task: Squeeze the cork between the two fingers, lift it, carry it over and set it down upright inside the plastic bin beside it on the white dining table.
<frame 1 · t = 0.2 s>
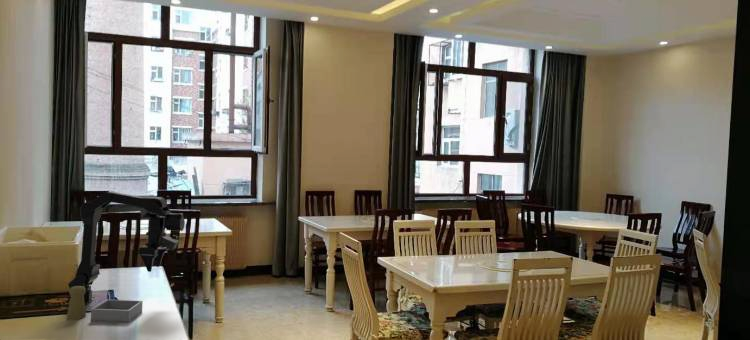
hand: (153, 269, 215), 14 cm above the table, fingers open, 9 cm apart
bin: (117, 316, 200), on the table
cork: (76, 317, 197), on the table
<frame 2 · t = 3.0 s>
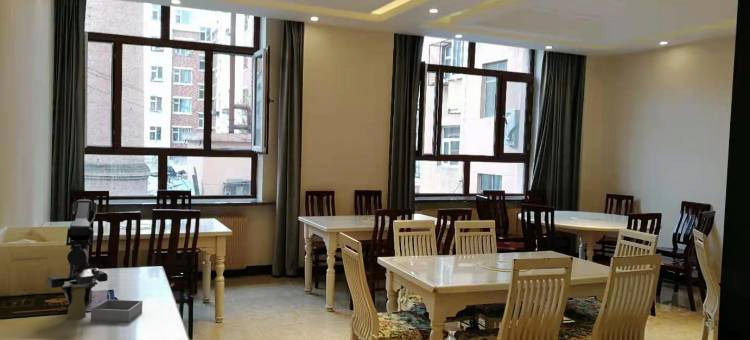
hand: (76, 302, 197), 5 cm above the table, fingers closed on cork, 5 cm apart
cork: (76, 317, 197), on the table, touching gripper
when the fingers open (7 cm above the table, at t = 7.1 s): cork drops 1 cm, resting on bin.
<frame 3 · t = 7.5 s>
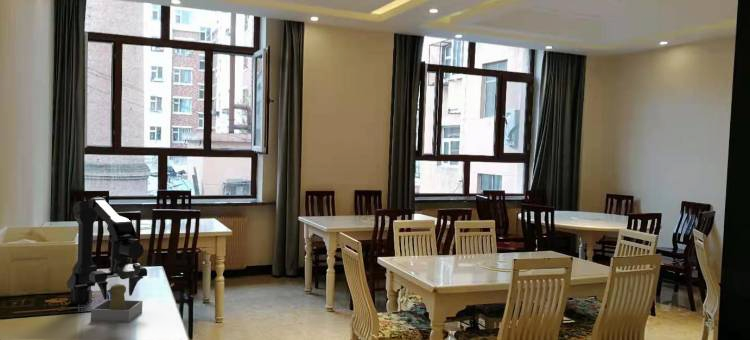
hand: (118, 297, 199), 7 cm above the table, fingers open, 9 cm apart
cork: (117, 315, 200), resting on bin
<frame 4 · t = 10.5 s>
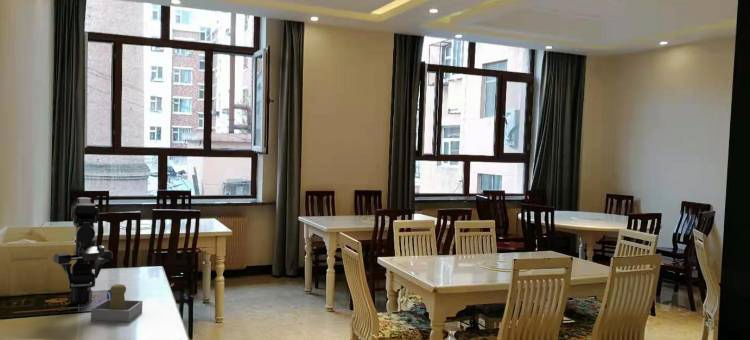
hand: (82, 279, 202), 12 cm above the table, fingers open, 9 cm apart
nothing on the table moved.
at the end: cork inside the target area on the bin (0.1 cm from its centre), point 0.4 cm above the bin's base; cork tilted 0°; the gripper is holding nothing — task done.
